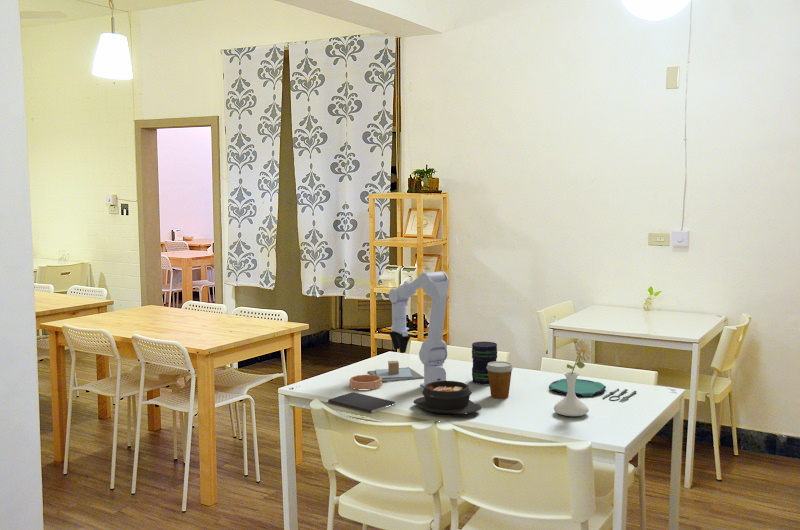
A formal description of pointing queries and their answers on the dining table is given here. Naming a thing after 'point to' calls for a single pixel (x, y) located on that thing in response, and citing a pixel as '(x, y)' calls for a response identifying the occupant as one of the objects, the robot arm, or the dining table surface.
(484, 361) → the storage jar
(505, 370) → the disposable coffee cup
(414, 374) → the mat
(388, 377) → the cover
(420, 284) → the robot arm
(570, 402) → the flower in vase
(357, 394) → the notebook
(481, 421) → the dining table surface
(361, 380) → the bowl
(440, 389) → the casserole
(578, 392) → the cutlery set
